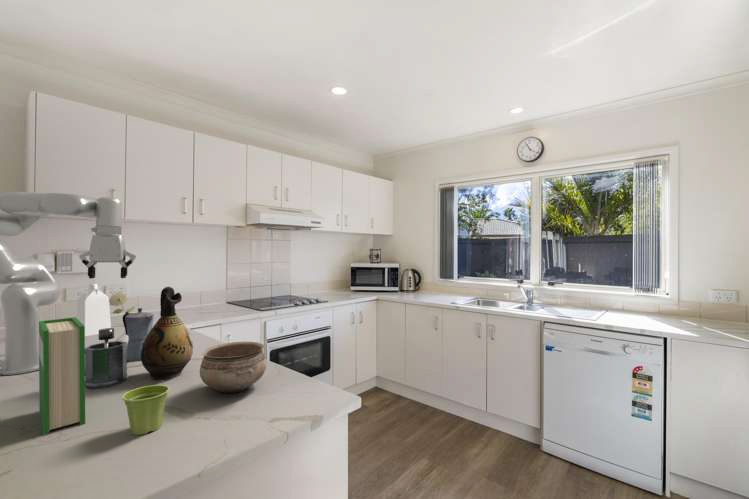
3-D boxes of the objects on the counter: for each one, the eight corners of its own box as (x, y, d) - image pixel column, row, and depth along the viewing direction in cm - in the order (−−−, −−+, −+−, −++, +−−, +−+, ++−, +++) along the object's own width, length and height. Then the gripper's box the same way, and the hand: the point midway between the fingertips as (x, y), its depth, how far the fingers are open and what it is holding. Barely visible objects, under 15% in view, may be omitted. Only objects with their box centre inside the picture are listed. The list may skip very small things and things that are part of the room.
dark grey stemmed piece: (88, 378, 109) (88, 332, 109) (97, 371, 116) (97, 328, 116) (116, 375, 112) (115, 330, 112) (123, 368, 118) (123, 326, 118)
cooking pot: (281, 393, 103) (280, 351, 103) (213, 412, 91) (212, 365, 91) (250, 371, 122) (249, 336, 122) (190, 385, 110) (190, 346, 110)
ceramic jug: (200, 374, 120) (199, 287, 121) (148, 387, 109) (147, 291, 109) (182, 363, 132) (182, 284, 132) (134, 374, 121) (133, 287, 121)
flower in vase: (141, 340, 168) (140, 288, 168) (146, 344, 160) (146, 290, 160) (107, 345, 159) (106, 290, 159) (111, 350, 151) (111, 292, 151)
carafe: (68, 392, 106) (67, 352, 106) (83, 379, 116) (83, 343, 116) (121, 385, 110) (121, 347, 110) (131, 374, 121) (131, 339, 121)
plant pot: (137, 420, 87) (137, 385, 88) (176, 418, 88) (176, 383, 88) (112, 440, 78) (112, 401, 78) (156, 437, 79) (156, 399, 79)
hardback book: (85, 423, 86) (84, 325, 86) (43, 435, 81) (43, 331, 81) (76, 402, 98) (75, 317, 98) (39, 411, 93) (38, 321, 93)
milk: (111, 331, 188) (110, 283, 188) (84, 336, 178) (84, 285, 178) (101, 329, 194) (101, 282, 194) (75, 333, 185) (75, 284, 185)
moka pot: (143, 362, 133) (143, 310, 134) (110, 360, 136) (109, 309, 137) (163, 355, 143) (163, 306, 143) (131, 353, 146) (131, 305, 146)
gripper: (75, 230, 122) (74, 279, 122) (132, 231, 128) (131, 278, 128) (85, 231, 130) (84, 277, 129) (139, 232, 135) (138, 277, 135)
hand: (107, 278), depth 129 cm, fingers open, 9 cm apart
